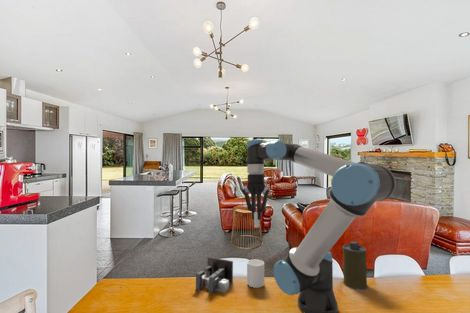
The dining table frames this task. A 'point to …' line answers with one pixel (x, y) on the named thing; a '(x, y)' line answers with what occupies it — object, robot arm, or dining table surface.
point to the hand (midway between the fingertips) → (256, 226)
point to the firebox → (215, 272)
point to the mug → (255, 273)
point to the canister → (354, 266)
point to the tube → (216, 283)
